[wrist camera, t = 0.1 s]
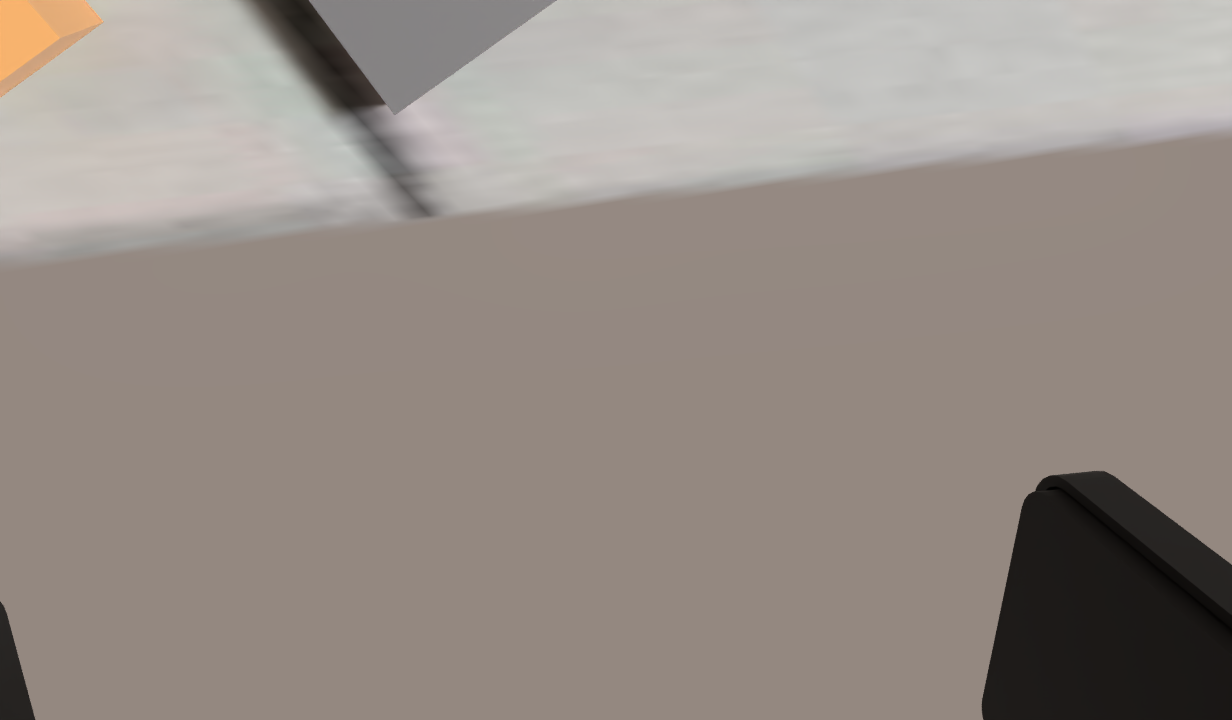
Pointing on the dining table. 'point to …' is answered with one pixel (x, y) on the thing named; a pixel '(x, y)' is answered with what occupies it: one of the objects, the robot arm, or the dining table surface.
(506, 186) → the dining table surface
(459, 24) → the socket plate
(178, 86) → the dining table surface
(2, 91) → the plug
